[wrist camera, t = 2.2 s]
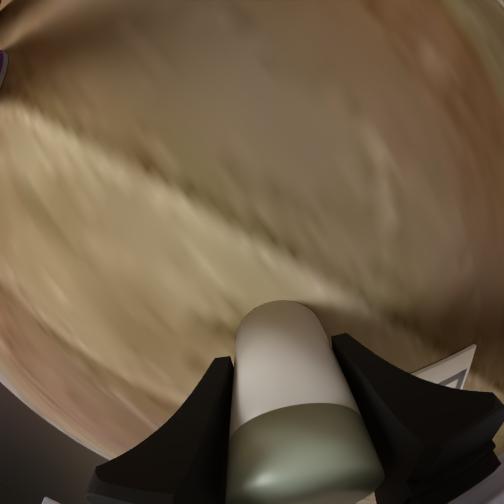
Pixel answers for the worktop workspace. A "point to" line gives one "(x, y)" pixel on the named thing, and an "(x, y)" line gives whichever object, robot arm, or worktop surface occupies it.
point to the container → (3, 65)
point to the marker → (294, 416)
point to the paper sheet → (449, 369)
